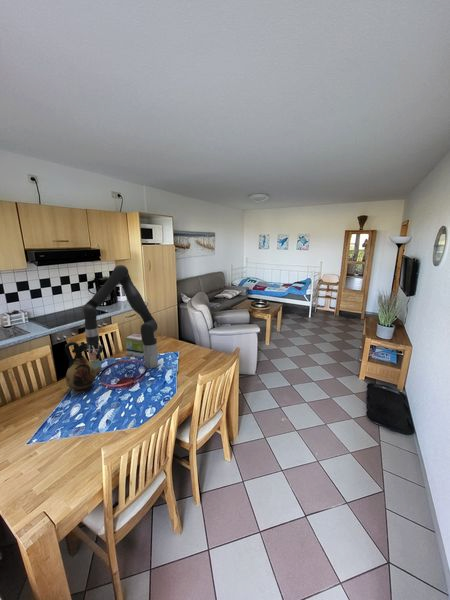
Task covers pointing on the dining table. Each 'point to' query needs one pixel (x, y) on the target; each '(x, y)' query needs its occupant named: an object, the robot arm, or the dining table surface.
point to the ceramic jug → (79, 369)
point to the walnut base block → (98, 370)
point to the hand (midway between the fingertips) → (94, 358)
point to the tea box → (134, 345)
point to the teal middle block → (96, 364)
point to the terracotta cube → (92, 356)
